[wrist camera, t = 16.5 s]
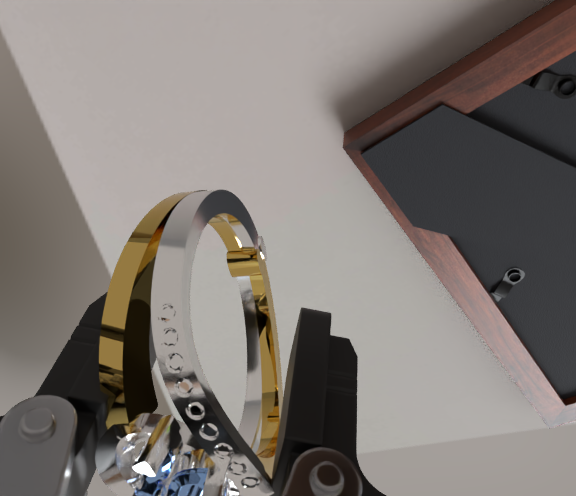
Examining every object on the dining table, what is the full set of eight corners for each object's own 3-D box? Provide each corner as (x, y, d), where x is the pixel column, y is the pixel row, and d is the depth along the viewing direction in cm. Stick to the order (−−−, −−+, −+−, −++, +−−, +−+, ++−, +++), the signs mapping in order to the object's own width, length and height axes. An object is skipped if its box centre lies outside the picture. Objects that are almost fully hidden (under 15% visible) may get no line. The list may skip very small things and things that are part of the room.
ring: (323, 329, 17) (298, 611, 11) (227, 334, 18) (150, 603, 12) (282, 126, 13) (207, 380, 7) (161, 141, 14) (-10, 387, 8)
